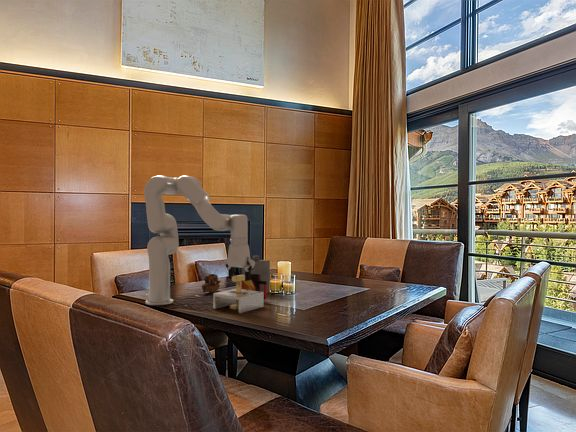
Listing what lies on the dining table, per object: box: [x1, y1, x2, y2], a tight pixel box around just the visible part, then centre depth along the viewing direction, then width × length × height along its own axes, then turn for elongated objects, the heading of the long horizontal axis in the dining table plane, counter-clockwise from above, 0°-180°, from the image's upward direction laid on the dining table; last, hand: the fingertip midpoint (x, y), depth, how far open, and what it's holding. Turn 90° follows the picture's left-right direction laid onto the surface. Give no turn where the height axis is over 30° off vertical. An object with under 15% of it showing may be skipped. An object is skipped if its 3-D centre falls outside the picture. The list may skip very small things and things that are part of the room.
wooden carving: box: [201, 273, 222, 293], centre depth 227 cm, size 16×5×10 cm, turn 164°
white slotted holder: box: [212, 288, 265, 314], centre depth 189 cm, size 16×16×7 cm
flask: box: [241, 255, 271, 294], centre depth 226 cm, size 15×6×20 cm, turn 88°
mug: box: [241, 274, 268, 300], centre depth 208 cm, size 10×14×12 cm
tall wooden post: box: [229, 274, 245, 311], centre depth 189 cm, size 3×8×14 cm, turn 146°
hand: (239, 279), depth 189 cm, fingers open, 9 cm apart
